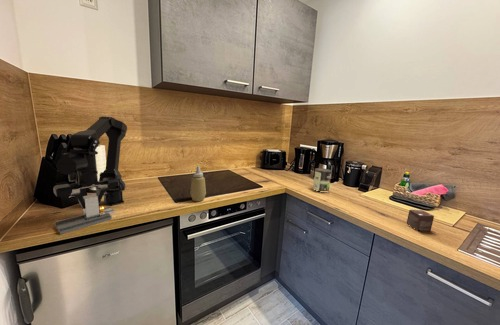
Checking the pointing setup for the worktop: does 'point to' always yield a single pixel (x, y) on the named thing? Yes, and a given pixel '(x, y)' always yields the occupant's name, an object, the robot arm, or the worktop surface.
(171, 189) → the worktop surface
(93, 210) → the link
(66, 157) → the robot arm
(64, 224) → the rail
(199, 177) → the squeeze bottle
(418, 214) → the box
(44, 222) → the worktop surface
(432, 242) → the worktop surface
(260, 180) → the worktop surface
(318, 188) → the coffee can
